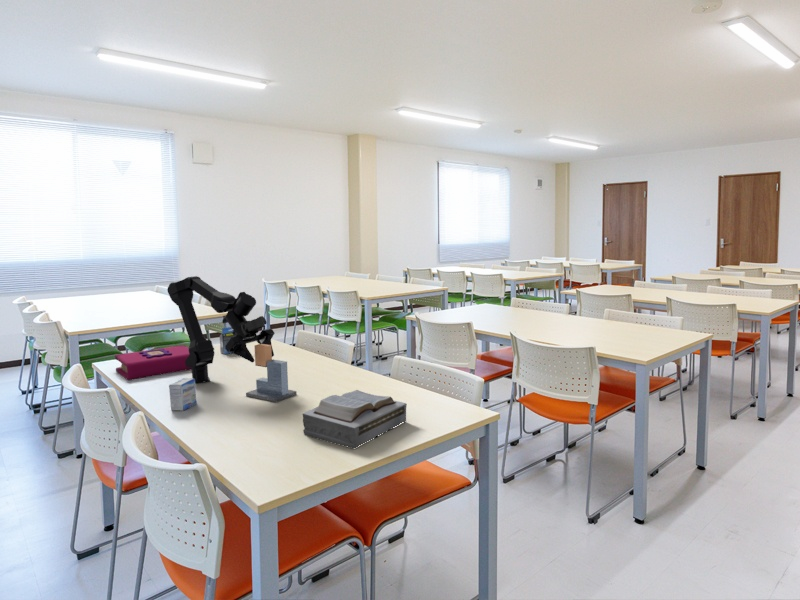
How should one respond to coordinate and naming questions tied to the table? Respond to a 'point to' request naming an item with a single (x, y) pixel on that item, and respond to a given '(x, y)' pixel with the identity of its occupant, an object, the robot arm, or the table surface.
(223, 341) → the label tape cartridge
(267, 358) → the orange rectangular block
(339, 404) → the bible
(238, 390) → the table surface
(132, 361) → the book
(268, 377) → the stand
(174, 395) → the medicine box
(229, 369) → the table surface
